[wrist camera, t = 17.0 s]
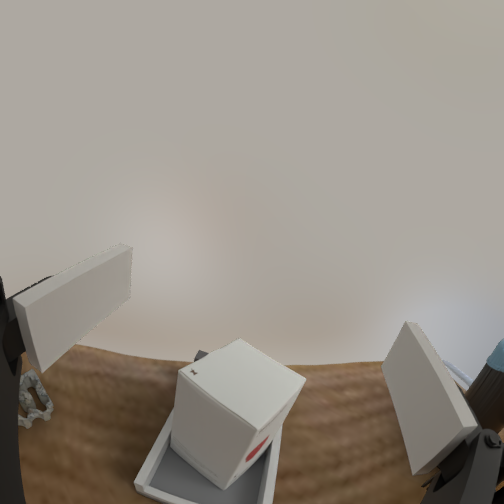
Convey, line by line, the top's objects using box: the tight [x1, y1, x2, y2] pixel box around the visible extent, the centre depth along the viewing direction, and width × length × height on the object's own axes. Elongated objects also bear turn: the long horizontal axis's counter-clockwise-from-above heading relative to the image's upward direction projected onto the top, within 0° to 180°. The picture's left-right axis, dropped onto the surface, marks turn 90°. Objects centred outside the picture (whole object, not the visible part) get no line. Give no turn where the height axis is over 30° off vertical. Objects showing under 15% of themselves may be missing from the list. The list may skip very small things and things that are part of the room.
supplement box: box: [170, 338, 306, 490], centre depth 25 cm, size 9×9×15 cm
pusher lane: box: [134, 350, 283, 504], centre depth 28 cm, size 22×14×7 cm, turn 171°
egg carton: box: [18, 369, 54, 429], centre depth 21 cm, size 11×8×4 cm
